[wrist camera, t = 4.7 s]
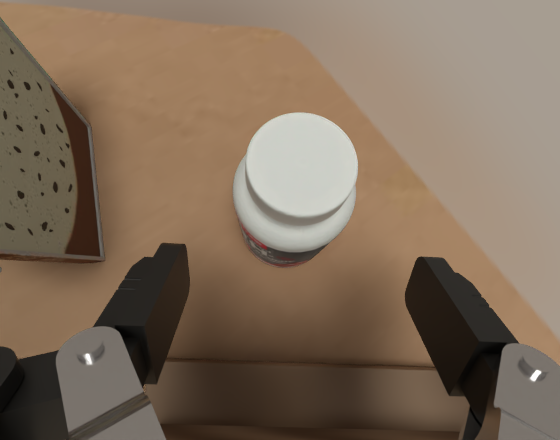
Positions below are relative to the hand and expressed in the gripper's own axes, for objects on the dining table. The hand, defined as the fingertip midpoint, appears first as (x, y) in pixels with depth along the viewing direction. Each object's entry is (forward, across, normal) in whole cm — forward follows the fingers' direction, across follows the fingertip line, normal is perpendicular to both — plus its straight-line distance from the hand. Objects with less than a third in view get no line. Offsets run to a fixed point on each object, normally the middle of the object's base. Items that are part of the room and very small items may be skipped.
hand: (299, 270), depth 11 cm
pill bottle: (+9, 0, +4) cm, 10 cm away
